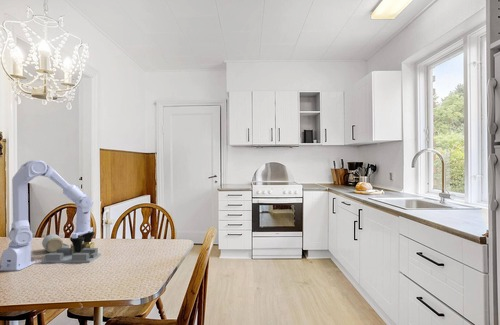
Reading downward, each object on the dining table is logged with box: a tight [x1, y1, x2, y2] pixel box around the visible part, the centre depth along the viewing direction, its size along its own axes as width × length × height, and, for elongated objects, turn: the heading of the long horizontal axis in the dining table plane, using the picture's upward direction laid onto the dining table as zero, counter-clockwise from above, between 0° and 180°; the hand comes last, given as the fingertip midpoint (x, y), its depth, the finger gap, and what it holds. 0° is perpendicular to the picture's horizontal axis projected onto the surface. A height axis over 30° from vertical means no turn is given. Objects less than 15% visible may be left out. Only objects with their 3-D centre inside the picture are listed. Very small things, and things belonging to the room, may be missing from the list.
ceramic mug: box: [41, 233, 71, 253], centre depth 136 cm, size 11×8×8 cm
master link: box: [70, 241, 95, 253], centre depth 131 cm, size 4×9×6 cm, turn 93°
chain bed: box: [41, 247, 102, 264], centre depth 123 cm, size 10×20×4 cm, turn 93°
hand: (82, 249), depth 131 cm, fingers open, 7 cm apart
